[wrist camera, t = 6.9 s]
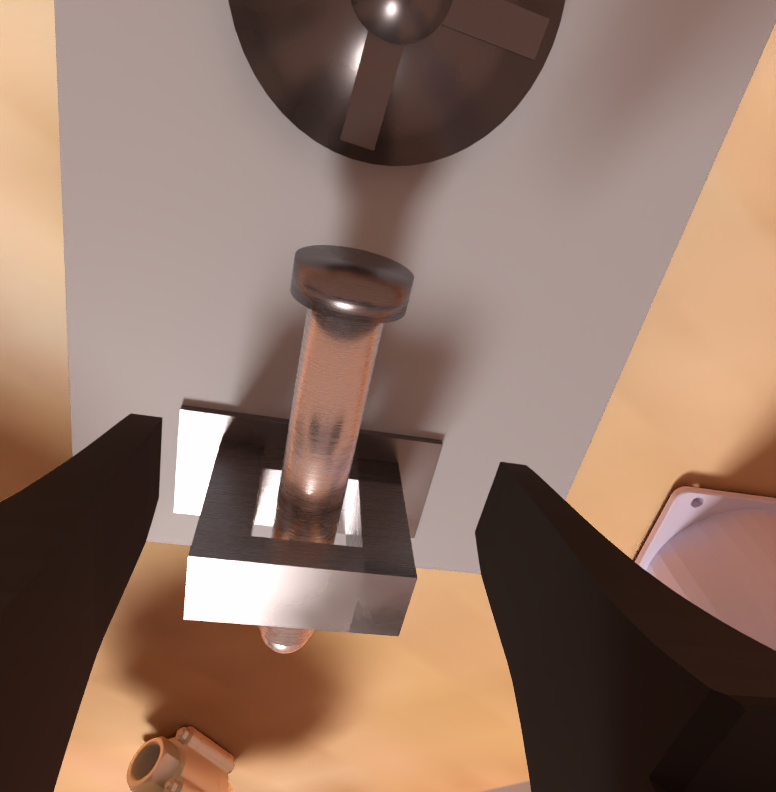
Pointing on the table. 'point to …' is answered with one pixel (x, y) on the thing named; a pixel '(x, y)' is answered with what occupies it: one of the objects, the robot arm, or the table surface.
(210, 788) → the pneumatic valve
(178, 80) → the board
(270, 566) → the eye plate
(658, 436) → the table surface
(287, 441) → the headed rod
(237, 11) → the handwheel
